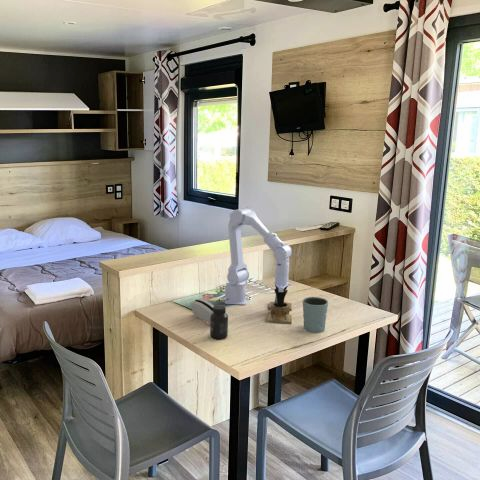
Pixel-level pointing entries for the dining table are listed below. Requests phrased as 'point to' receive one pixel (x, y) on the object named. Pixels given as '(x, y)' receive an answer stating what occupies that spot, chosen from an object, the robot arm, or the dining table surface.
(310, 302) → the teal cup
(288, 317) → the hinge leaves
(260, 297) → the dining table surface
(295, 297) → the dining table surface
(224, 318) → the supplement bottle
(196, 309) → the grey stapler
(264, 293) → the dining table surface
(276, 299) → the pin
